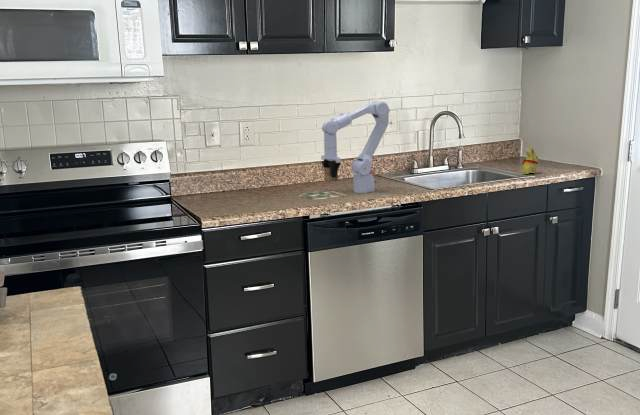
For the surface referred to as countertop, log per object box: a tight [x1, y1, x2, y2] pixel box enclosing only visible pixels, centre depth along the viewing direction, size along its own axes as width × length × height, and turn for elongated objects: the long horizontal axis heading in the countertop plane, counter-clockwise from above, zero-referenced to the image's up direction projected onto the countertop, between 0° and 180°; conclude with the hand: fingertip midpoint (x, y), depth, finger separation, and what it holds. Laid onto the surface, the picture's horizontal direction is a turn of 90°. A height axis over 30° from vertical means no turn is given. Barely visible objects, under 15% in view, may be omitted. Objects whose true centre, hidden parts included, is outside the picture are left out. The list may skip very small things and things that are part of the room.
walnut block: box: [323, 167, 339, 183], centre depth 293 cm, size 4×4×6 cm
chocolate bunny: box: [521, 145, 539, 174], centre depth 340 cm, size 7×11×15 cm, turn 123°
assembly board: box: [298, 190, 348, 201], centre depth 293 cm, size 18×14×2 cm
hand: (331, 176), depth 294 cm, fingers closed on walnut block, 4 cm apart
